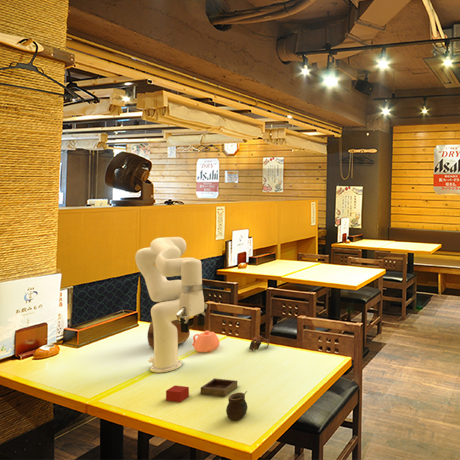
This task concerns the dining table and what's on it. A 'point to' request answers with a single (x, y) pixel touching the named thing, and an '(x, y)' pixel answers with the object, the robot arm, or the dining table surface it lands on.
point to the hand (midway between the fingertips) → (193, 328)
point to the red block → (177, 393)
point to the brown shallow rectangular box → (219, 387)
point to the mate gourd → (236, 406)
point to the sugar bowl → (206, 342)
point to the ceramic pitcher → (181, 335)
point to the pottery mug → (258, 342)
